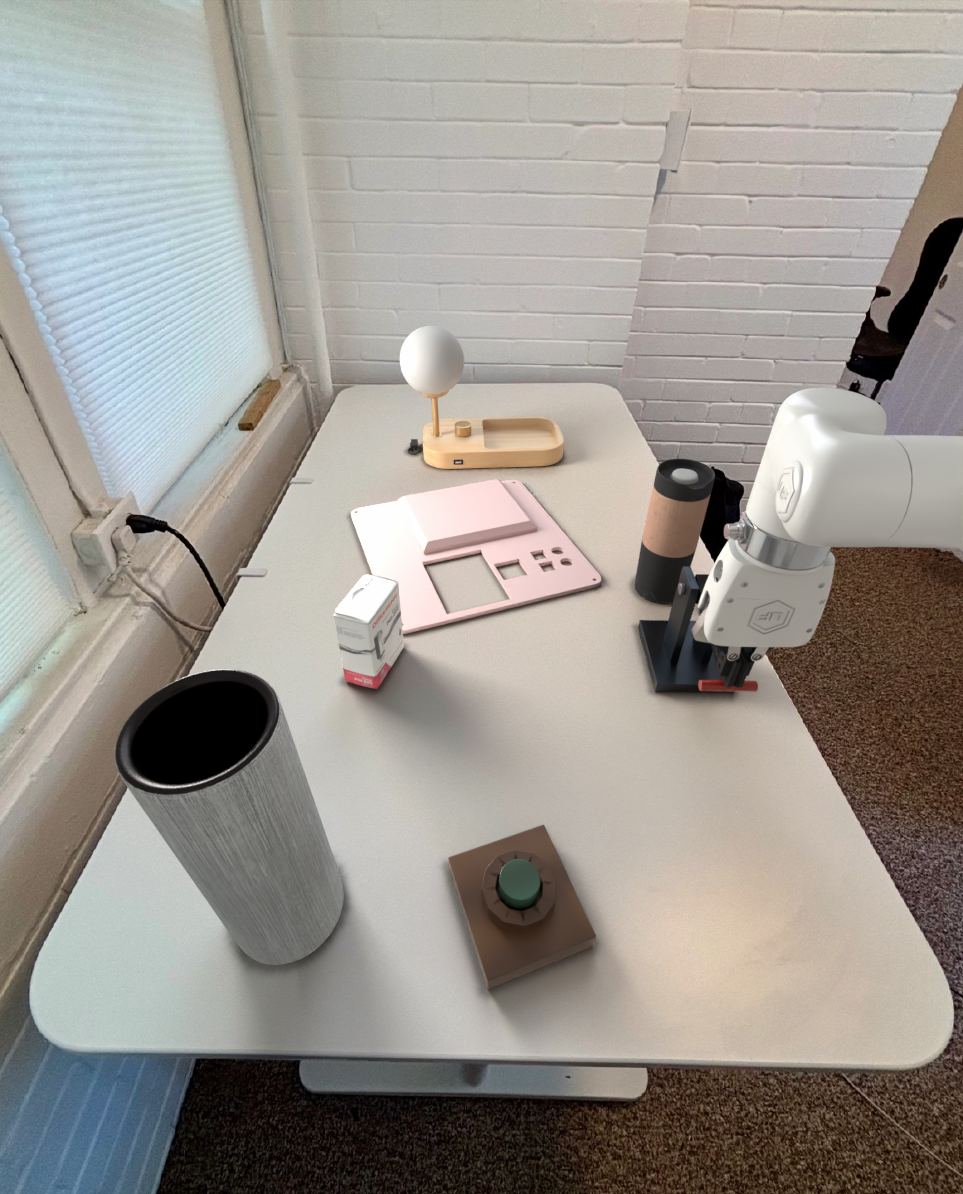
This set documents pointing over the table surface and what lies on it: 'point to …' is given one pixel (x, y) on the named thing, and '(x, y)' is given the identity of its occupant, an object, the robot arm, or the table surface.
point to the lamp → (470, 441)
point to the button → (519, 883)
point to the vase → (235, 809)
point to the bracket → (678, 644)
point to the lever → (718, 684)
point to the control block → (513, 934)
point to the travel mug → (672, 526)
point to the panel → (469, 547)
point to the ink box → (369, 630)
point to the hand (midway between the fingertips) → (729, 677)
